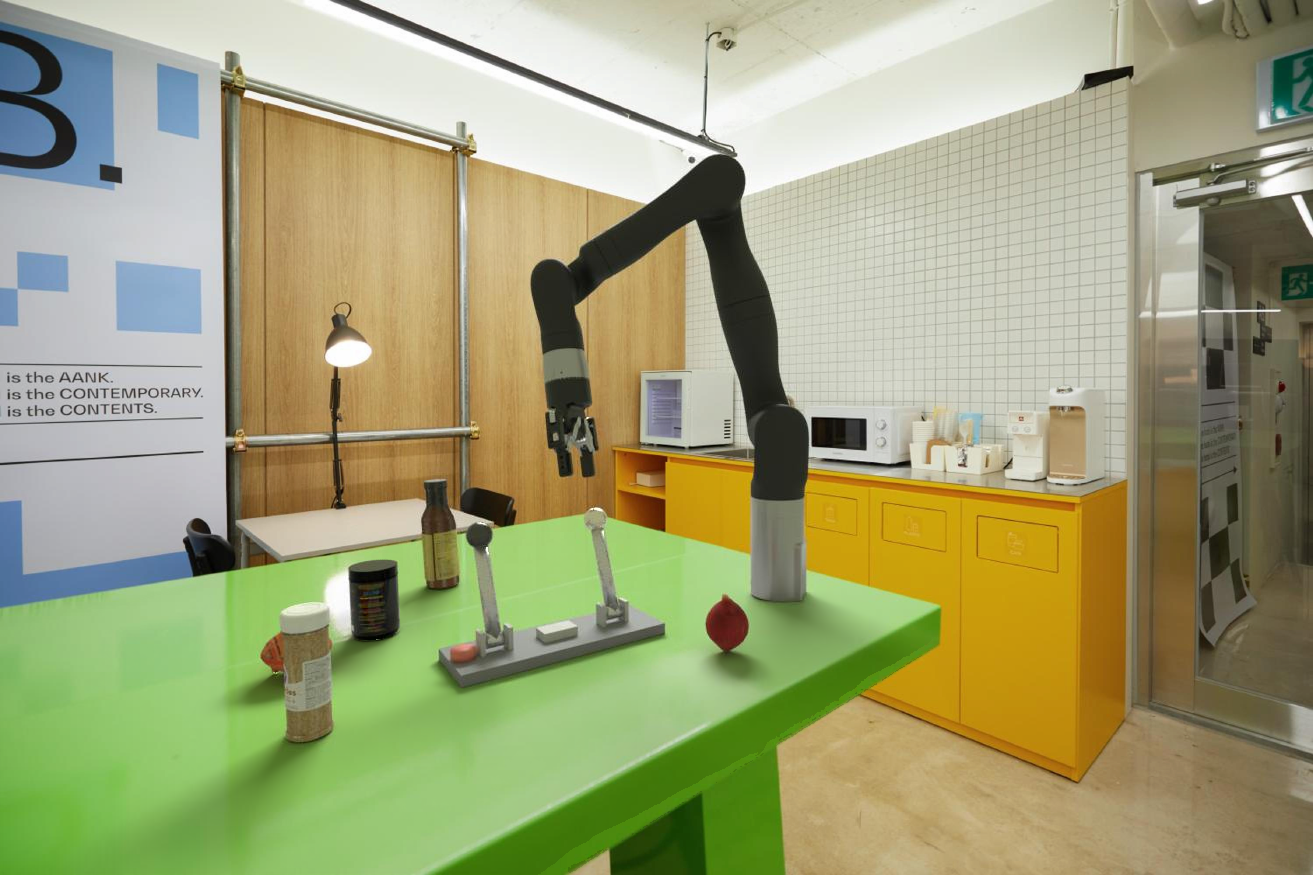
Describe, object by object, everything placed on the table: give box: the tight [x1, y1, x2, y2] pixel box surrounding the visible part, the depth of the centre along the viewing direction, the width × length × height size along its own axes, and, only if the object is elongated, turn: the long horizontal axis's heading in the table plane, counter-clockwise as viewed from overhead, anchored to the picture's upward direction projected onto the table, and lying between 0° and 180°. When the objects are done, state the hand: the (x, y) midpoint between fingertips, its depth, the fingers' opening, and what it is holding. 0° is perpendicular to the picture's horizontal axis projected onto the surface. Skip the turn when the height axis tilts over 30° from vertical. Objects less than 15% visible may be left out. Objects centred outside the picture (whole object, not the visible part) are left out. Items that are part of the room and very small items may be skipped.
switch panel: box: [438, 597, 666, 688], centre depth 89 cm, size 10×30×4 cm, turn 124°
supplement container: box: [347, 559, 401, 641], centre depth 94 cm, size 7×7×10 cm
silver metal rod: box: [465, 521, 506, 649], centre depth 85 cm, size 4×4×17 cm
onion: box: [704, 593, 750, 653], centre depth 86 cm, size 6×6×8 cm
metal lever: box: [583, 507, 623, 620], centre depth 96 cm, size 4×4×17 cm
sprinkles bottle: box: [279, 601, 335, 743], centre depth 66 cm, size 5×5×14 cm
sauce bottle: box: [420, 478, 461, 590], centre depth 118 cm, size 7×6×20 cm
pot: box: [260, 630, 333, 673], centre depth 81 cm, size 8×8×7 cm
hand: (578, 476), depth 103 cm, fingers open, 8 cm apart
